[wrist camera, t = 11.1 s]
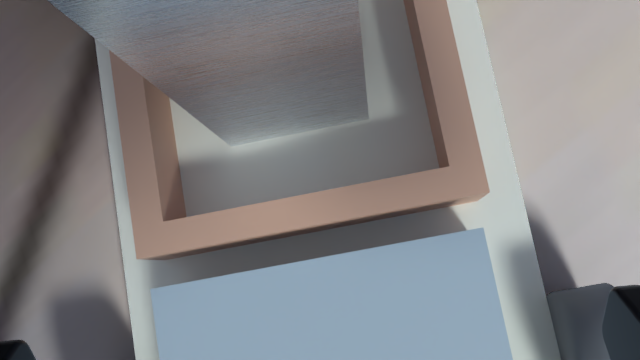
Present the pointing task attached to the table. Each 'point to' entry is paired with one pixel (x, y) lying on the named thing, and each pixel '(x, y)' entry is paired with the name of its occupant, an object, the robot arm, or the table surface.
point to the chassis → (342, 218)
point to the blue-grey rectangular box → (240, 59)
